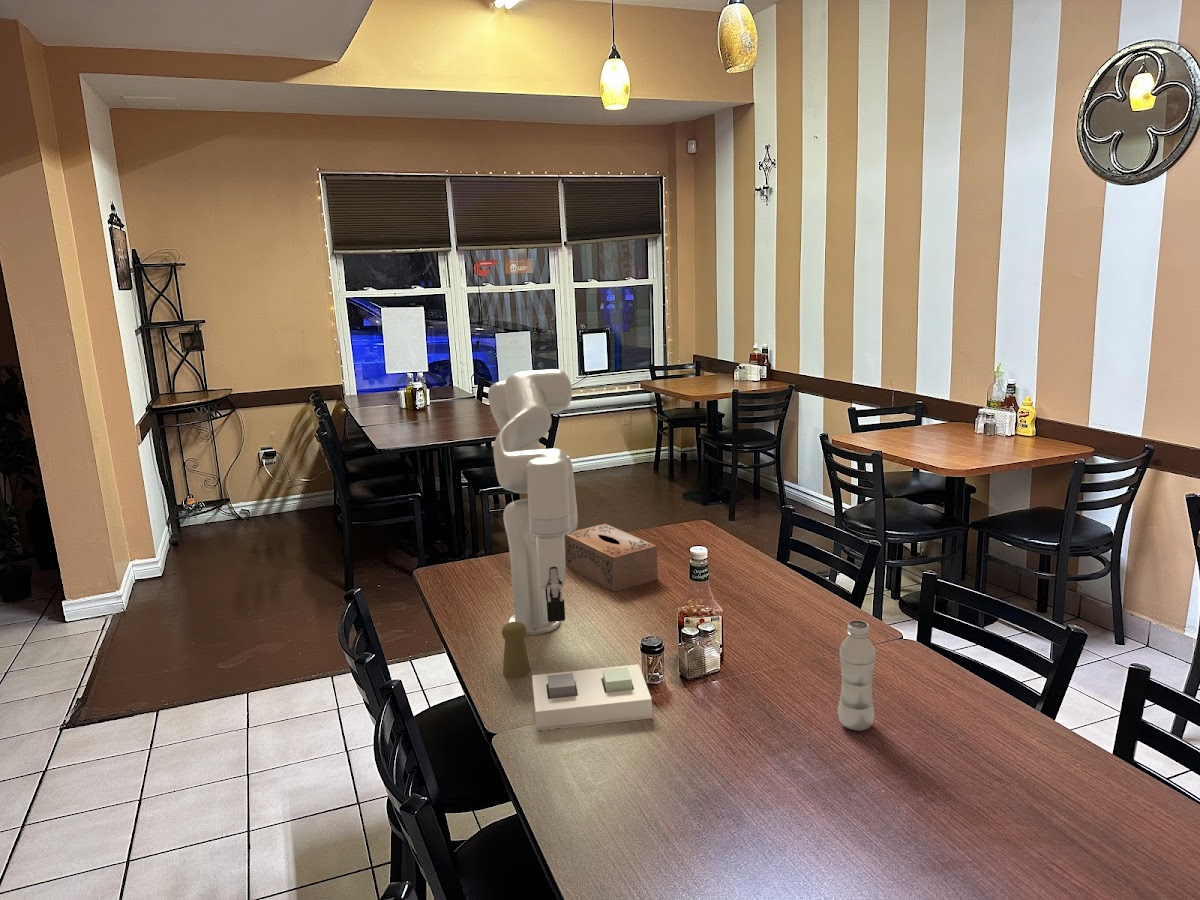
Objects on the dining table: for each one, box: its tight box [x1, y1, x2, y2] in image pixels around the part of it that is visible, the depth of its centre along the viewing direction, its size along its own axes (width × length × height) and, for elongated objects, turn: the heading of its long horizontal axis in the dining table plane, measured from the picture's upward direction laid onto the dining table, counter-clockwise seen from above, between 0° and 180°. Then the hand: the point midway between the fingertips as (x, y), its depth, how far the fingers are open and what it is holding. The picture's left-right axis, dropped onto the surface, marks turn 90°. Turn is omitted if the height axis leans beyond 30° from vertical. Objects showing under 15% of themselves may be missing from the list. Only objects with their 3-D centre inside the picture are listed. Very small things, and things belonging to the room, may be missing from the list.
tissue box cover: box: [564, 523, 659, 593], centre depth 226 cm, size 26×14×10 cm, turn 33°
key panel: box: [531, 663, 653, 732], centre depth 157 cm, size 14×22×4 cm, turn 97°
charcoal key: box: [548, 673, 576, 699], centre depth 156 cm, size 5×5×3 cm
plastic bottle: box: [837, 619, 877, 732], centre depth 145 cm, size 6×7×20 cm
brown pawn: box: [501, 622, 532, 679], centre depth 171 cm, size 6×6×11 cm
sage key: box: [603, 667, 632, 693], centre depth 157 cm, size 5×5×3 cm
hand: (555, 610), depth 152 cm, fingers open, 9 cm apart
